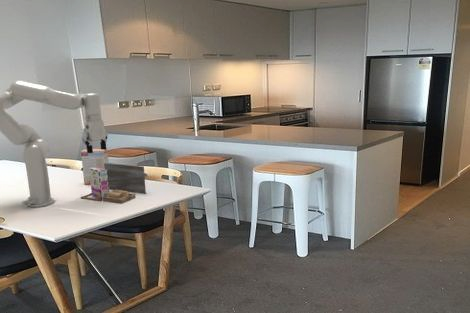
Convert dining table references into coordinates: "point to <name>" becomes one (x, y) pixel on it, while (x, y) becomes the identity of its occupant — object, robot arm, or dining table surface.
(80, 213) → the dining table surface
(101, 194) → the candy bar box
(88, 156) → the cracker box
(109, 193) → the offcut top
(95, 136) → the robot arm
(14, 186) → the dining table surface
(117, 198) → the offcut middle
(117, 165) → the rack
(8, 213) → the dining table surface
